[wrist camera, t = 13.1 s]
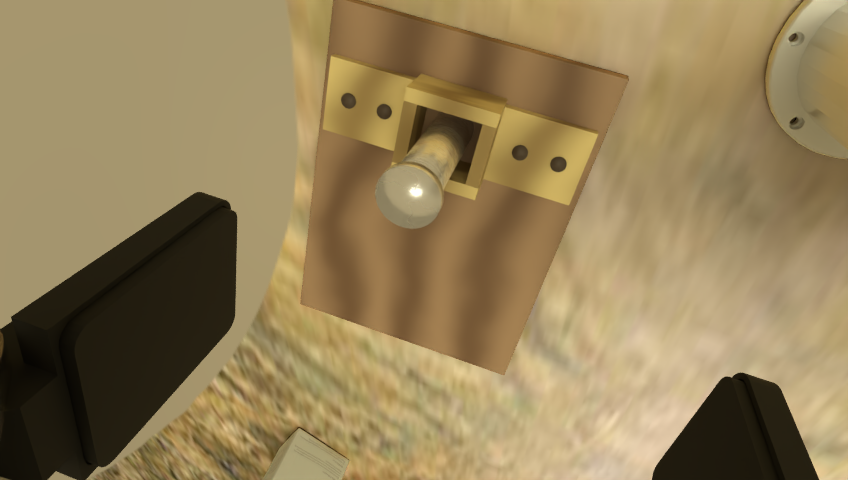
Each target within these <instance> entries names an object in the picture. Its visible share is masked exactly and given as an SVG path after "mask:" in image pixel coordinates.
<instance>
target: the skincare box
mask: <svg viewBox="0 0 848 480" xmlns="http://www.w3.org/2000/svg"><path fill="white" fill-rule="evenodd" d="M348 463H349V460H348V459H346V458H345V457H343V456H342V455H340V454H339V453H337V452H336V451H334V450H332V449H331V448H329V447H328V446H326V445H325V444H323V443H322V442H320V441H319V440H317V439H316V438H314V437H313V436H311V435H309V434H308V433H306V432H305V431H303V430H302V429H300V428H298V429H297V430H296V431H295V432H294V433H293V434H292V435H291V436H290V437H289V438H288V440H287V441H286V442H285V443H284V444H283V445H282V446H281V447H280V448H279V450H278V452H277V454H276V456H275V457H274V459H273V461H272V463H271V465H270V467H269V469H268V470H267V472H266V474H265V476H264V478H263V480H342V478H343V475H344V473H345V470H346V468H347V465H348Z"/></svg>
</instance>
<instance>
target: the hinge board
mask: <svg viewBox="0 0 848 480" xmlns="http://www.w3.org/2000/svg"><path fill="white" fill-rule="evenodd" d="M628 81H629V79H628V76H626V75H622V74H619V73H615V72H612V71H608V70H605V69H601V68H597V67H594V66H590V65H587V64H583V63H580V62H576V61H573V60H569V59H565V58H562V57H558V56H555V55H551V54H548V53H544V52H540V51H537V50H533V49H530V48H526V47H523V46H519V45H515V44H512V43H508V42H505V41H501V40H498V39H494V38H491V37H487V36H483V35H480V34H476V33H473V32H469V31H466V30H462V29H458V28H455V27H451V26H448V25H444V24H441V23H437V22H434V21H430V20H426V19H423V18H419V17H416V16H412V15H409V14H405V13H401V12H398V11H394V10H391V9H387V8H384V7H380V6H376V5H373V4H369V3H366V2H362V1H359V0H333V8H332V18H331V27H330V36H329V45H328V54H327V64H326V73H325V82H324V91H323V100H322V110H321V119H320V128H319V137H318V146H317V156H316V165H315V174H314V183H313V193H312V202H311V211H310V220H309V229H308V239H307V248H306V257H305V266H304V275H303V285H302V294H301V303H300V304H302V305H305V306H308V307H311V308H314V309H316V310H319V311H322V312H325V313H328V314H331V315H333V316H336V317H339V318H342V319H345V320H348V321H351V322H353V323H356V324H359V325H362V326H365V327H368V328H371V329H373V330H376V331H379V332H382V333H385V334H388V335H391V336H393V337H396V338H399V339H402V340H405V341H408V342H411V343H413V344H416V345H419V346H422V347H425V348H428V349H431V350H433V351H436V352H439V353H442V354H445V355H448V356H450V357H453V358H456V359H459V360H462V361H465V362H468V363H470V364H473V365H476V366H479V367H482V368H485V369H488V370H490V371H493V372H496V373H499V374H502V375H504V374H505V372H506V369H507V367H508V365H509V362H510V360H511V358H512V355H513V353H514V350H515V348H516V346H517V343H518V341H519V339H520V336H521V334H522V331H523V329H524V327H525V324H526V322H527V320H528V317H529V315H530V313H531V310H532V308H533V305H534V303H535V301H536V298H537V296H538V294H539V291H540V289H541V287H542V284H543V282H544V279H545V277H546V275H547V272H548V270H549V268H550V265H551V263H552V260H553V258H554V256H555V253H556V251H557V249H558V246H559V244H560V242H561V239H562V237H563V234H564V232H565V230H566V227H567V225H568V223H569V220H570V218H571V216H572V213H573V211H574V208H575V206H576V204H577V201H578V199H579V197H580V194H581V192H582V189H583V187H584V185H585V182H586V180H587V178H588V175H589V173H590V171H591V168H592V166H593V163H594V161H595V159H596V156H597V154H598V152H599V149H600V147H601V144H602V142H603V140H604V137H605V135H606V133H607V130H608V128H609V126H610V123H611V121H612V118H613V116H614V114H615V111H616V109H617V107H618V104H619V102H620V100H621V97H622V95H623V92H624V90H625V88H626V85H627V83H628ZM440 112H444V113H447V114H450V115H454V116H457V117H460V118H464V119H467V120H470V121H473V125H474V133H473V136H472V138H471V140H470V142H469V144H468V146H467V147H466V149H465V151H464V153H463V155H462V157H461V158H460V160H459V162H458V164H457V166H456V168H455V170H454V171H453V173H452V175H451V177H450V179H449V181H448V182H447V184H446V186H445V188H444V190H443V191H444V201H443V205H442V207H441V209H440V211H439V213H438V215H437V217H436V218H435V219H434V220H433V221H432V222H431V223H430V224H428V225H426V226H424V227H421V228H416V229H409V228H404V227H400V226H398V225H396V224H394V223H392V222H391V221H389V220H388V219H387V218H386V217H385V216H384V215H383V214H382V212H381V211H380V209H379V207H378V205H377V202H376V198H375V188H376V185H377V182H378V180H379V178H380V177H381V176H382V175H383V173H384V172H385V171H386V170H387V169H388V168H389V167H390V166H392V165H394V164H396V163H399V162H402V160H403V159H404V158H405V156H406V155H407V154H408V153H409V151H410V150H411V149H412V147H413V146H414V145H415V144H416V142H417V141H418V140H419V139H420V137H421V136H422V135H423V133H424V132H425V131H426V130H427V128H428V127H429V126H430V124H431V123H432V122H433V121H434V119H435V118H436V117H437V116H438V114H439V113H440Z"/></svg>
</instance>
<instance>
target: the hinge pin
mask: <svg viewBox="0 0 848 480" xmlns="http://www.w3.org/2000/svg"><path fill="white" fill-rule="evenodd" d="M473 133H474V125H473V121H470V120H467V119H464V118H460V117H457V116H454V115H450V114H447V113H444V112H440V113H439V114H438V116H437V117H436V118H435V119H434V121H433V122H432V123H431V124H430V126H429V127H428V128H427V130H426V131H425V132H424V133H423V135H422V136H421V137H420V139H419V140H418V141H417V142H416V144H415V145H414V146H413V147H412V149H411V150H410V151H409V153H408V154H407V155H406V156H405V158H404V159H403V160H402V162H399V163H396V164H394V165H392V166H390V167H389V168H388V169H387V170H386V171H385V172H384V173H383V175H382V176H381V177H380V178H379V180H378V182H377V185H376V188H375V198H376V202H377V205H378V207H379V209H380V211H381V212H382V214H383V215H384V216H385V217H386V218H387V219H388V220H389V221H391V222H392V223H394V224H396V225H398V226H400V227H404V228H409V229H416V228H421V227H424V226H426V225H428V224H430V223H431V222H432V221H433V220H434V219H435V218H436V217H437V215H438V213H439V211H440V209H441V207H442V205H443V201H444V191H443V190H444V188H445V186H446V184H447V182H448V181H449V179H450V177H451V175H452V173H453V171H454V170H455V168H456V166H457V164H458V162H459V160H460V158H461V157H462V155H463V153H464V151H465V149H466V147H467V146H468V144H469V142H470V140H471V138H472V136H473Z"/></svg>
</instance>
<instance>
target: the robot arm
mask: <svg viewBox="0 0 848 480" xmlns="http://www.w3.org/2000/svg"><path fill="white" fill-rule="evenodd" d="M793 33H796V38H795V39H794V40H792V41H789V37H790V36H791V35H792V34H793ZM765 80H766V96H767V100H768V103H769V107H770V110H771V112H772V114H773V116H774V117H775V119H776V121H777V123H778V124H779V125H780V127H781V128H782V129H783V130H784V131H785V132H786V133H787V134H788V135H789V136H790V137H791V138H793V139H794V140H795V141H796V142H797V143H799V144H800V145H802V146H804V147H805V148H807V149H809V150H811V151H813V152H815V153H818V154H822V155H825V156H829V157H832V158H840V159H848V0H804V1H803V2H802V3H801V4H800V6H799V7H798V8H797V9H796V10H795V11H794V13H793V14H792V15H791V16H790V17H789V19H788V20H787V22H786V23H785V25H784V27H783V28H782V30H781V32H780V33H779V35H778V37H777V38H776V41H775V43H774V46H773V48H772V51H771V53H770V56H769V60H768V65H767V70H766V76H765ZM795 117H797V119H796V121H795V122H792V123H790V121H791V120H792V119H793V118H795ZM236 248H237V215H236V213H235V212H234V211H232V210H231V207H230V204H229V202H227V201H226V200H223V199H220V198H217V197H214V196H211V195H208V194H205V193H202V192H197V193H195V194H193V195H191V196H190V197H188V198H187V199H185V200H184V201H182V202H181V203H180V204H178V205H176V206H175V207H174V208H172V209H171V210H169V211H168V212H166V213H165V214H163V215H162V216H160V217H159V218H157V219H156V220H154V221H153V222H151V223H150V224H148V225H147V226H145V227H144V228H142V229H141V230H139V231H138V232H136V233H135V234H133V235H132V236H130V237H129V238H127V239H126V240H125V241H123V242H122V243H120V244H119V245H117V246H116V247H114V248H113V249H111V250H110V251H108V252H107V253H105V254H104V255H102V256H101V257H99V258H98V259H96V260H95V261H93V262H92V263H90V264H89V265H87V266H86V267H85V268H83V269H82V270H80V271H78V272H77V273H76V274H74V275H73V276H71V277H70V278H68V279H67V280H65V281H64V282H62V283H61V284H59V285H58V286H56V287H55V288H53V289H52V290H50V291H49V292H47V293H46V294H44V295H43V296H41V297H40V298H39V299H37V300H35V301H34V302H32V303H31V304H29V305H28V306H27V307H25V308H24V309H22V310H21V311H19V312H18V313H16V314H15V315H13V316H12V317H11V318H12V322H11V323H9V324H8V325H6V326H5V327H3V328H2V329H0V480H47V479H48V478H49V477H50V476H51V475H52V474H53V473H54V472H55V471H57V472H60V473H62V474H64V475H67V476H69V477H72V478H75V479H77V480H86V479H87V478H88V477H89V476H90V474H91V473H92V472H93V471H94V470H95V469H96V468H97V467H98V466H100V467H105V466H107V465H108V464H110V463H111V462H112V461H113V460H114V459H115V458H116V457H117V456H118V454H119V453H120V452H121V451H122V450H123V449H124V448H125V447H126V446H127V444H128V443H129V442H130V441H131V440H132V439H133V438H134V437H135V435H136V434H137V433H138V432H139V431H140V430H141V429H142V428H143V426H144V425H145V424H146V423H147V422H148V421H149V420H150V419H151V418H152V416H153V415H154V414H155V413H156V412H157V411H158V410H159V408H160V407H161V406H162V405H163V404H164V403H165V402H166V401H167V399H168V398H169V397H170V396H171V395H172V394H173V392H175V391H176V389H177V388H178V387H179V386H180V385H181V384H182V383H183V382H184V380H185V379H186V378H187V377H188V376H189V375H190V374H191V373H192V371H193V370H194V369H195V368H196V367H197V366H198V365H199V364H200V362H201V361H202V360H203V359H204V358H205V357H206V356H207V355H208V354H209V352H210V351H211V350H212V349H213V348H214V347H215V346H216V345H217V343H218V342H219V341H220V340H221V339H222V338H223V337H224V336H225V334H226V333H227V332H228V331H229V329H230V328H231V326H232V323H233V321H234V318H235V296H236ZM652 480H819V478H818V476H817V473H816V471H815V469H814V466H813V464H812V462H811V459H810V457H809V455H808V452H807V450H806V447H805V445H804V443H803V440H802V438H801V436H800V433H799V431H798V429H797V426H796V424H795V422H794V419H793V417H792V414H791V412H790V410H789V407H788V405H787V403H786V400H785V398H784V396H783V393H782V391H781V389H780V388H779V386H778V385H776V384H775V383H772V382H769V381H766V380H763V379H760V378H757V377H754V376H751V375H748V374H745V373H737V374H735V375H734V376H733V377H732V378H731V377H724V378H722V379H721V380H720V381H719V383H718V384H717V385H716V387H715V388H714V389H713V391H712V392H711V393H710V395H709V396H708V397H707V399H706V400H705V401H704V403H703V404H702V405H701V407H700V408H699V409H698V411H697V412H696V413H695V415H694V416H693V417H692V419H691V420H690V421H689V423H688V424H687V425H686V427H685V428H684V429H683V431H682V432H681V433H680V435H679V436H678V437H677V439H676V440H675V441H674V443H673V444H672V445H671V447H670V448H669V449H668V451H667V452H666V453H665V455H664V456H663V457H662V459H661V460H660V461H659V463H658V464H657V466H656V467H655V470H654V472H653V477H652Z"/></svg>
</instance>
